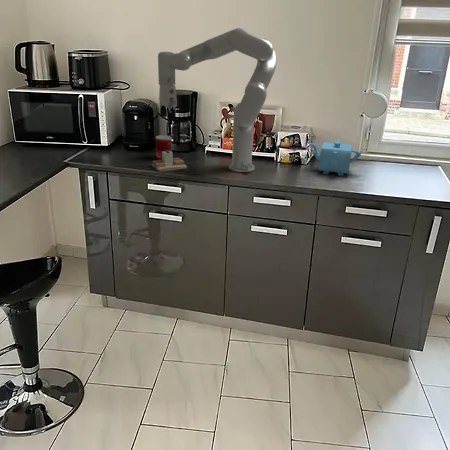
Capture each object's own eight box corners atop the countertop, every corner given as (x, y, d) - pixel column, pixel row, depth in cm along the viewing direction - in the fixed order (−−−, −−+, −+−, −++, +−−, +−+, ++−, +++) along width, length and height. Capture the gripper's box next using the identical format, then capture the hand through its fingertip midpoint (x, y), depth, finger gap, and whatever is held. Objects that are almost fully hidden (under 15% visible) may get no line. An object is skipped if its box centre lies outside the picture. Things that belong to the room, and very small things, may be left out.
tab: (172, 164, 235) (172, 151, 232) (165, 165, 233) (164, 152, 231) (169, 162, 238) (169, 149, 235) (162, 163, 236) (162, 150, 233)
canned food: (170, 160, 244) (170, 139, 239) (155, 160, 244) (154, 138, 239) (172, 156, 251) (172, 135, 246) (157, 155, 251) (156, 134, 246)
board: (187, 168, 234) (187, 163, 233) (160, 171, 228) (159, 166, 227) (178, 162, 242) (178, 157, 241) (152, 165, 236) (152, 160, 235)
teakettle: (360, 175, 234) (365, 145, 228) (331, 180, 225) (335, 149, 219) (334, 164, 248) (338, 135, 242) (305, 168, 240) (308, 139, 234)
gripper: (182, 83, 214) (182, 121, 222) (167, 77, 228) (167, 114, 235) (166, 84, 211) (167, 123, 218) (152, 78, 225) (153, 115, 232)
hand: (167, 118), depth 227 cm, fingers open, 9 cm apart
